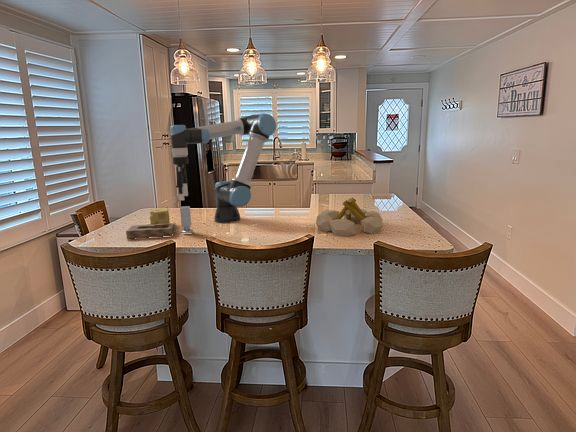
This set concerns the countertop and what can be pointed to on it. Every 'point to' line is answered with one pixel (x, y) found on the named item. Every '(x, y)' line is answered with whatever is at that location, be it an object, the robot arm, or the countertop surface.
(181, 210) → the peg
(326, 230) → the campfire
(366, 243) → the countertop surface
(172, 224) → the keyhole plate
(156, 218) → the cheese
